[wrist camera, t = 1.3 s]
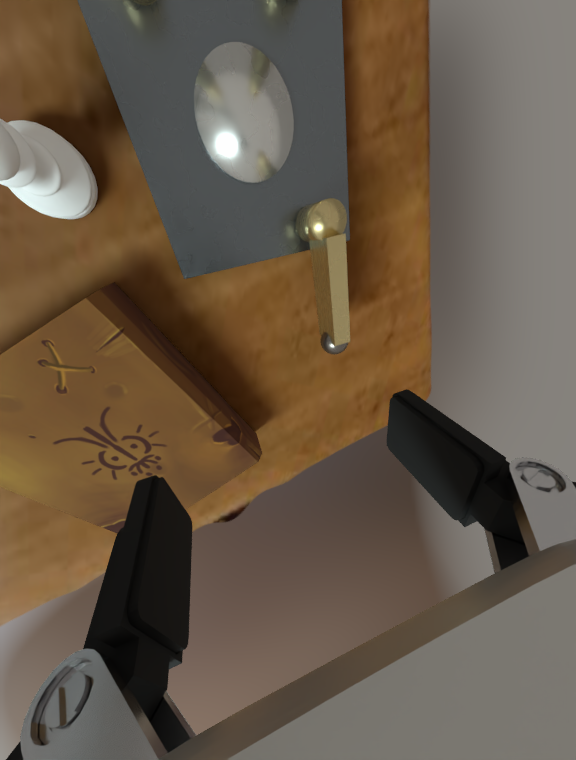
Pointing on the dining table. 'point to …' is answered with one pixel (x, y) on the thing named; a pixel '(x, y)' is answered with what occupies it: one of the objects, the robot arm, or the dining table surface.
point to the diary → (112, 415)
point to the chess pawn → (45, 170)
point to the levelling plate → (229, 117)
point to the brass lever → (328, 269)
